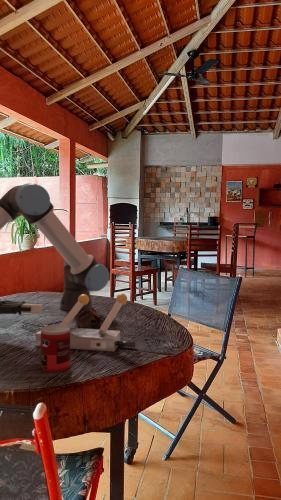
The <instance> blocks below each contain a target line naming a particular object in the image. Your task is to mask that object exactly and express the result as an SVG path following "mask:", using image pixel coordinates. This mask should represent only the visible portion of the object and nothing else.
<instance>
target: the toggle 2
mask: <svg viewBox="0 0 281 500" xmlns="http://www.w3.org/2000/svg"><path fill="white" fill-rule="evenodd" d="M115 300H116V301H115V303H114V304H113V306H112V307H111V309H110V311H109V313H108V314H107V317H106V318H105V319H104V321H103V322H102V326H100V327H101V328H99V329H98V330H99V335H102V334H104V333H105V332H106V331H107V330H109V328H110V326H111V324H112V322H113V320H114V319H115V317H116V316H117V314H118V312H119V311H120V309H121V308H122V306H123V305H125V304H126V303H127V302H128V297H127V295H126V294H125V293H119V294H117V295H116V297H115Z"/></svg>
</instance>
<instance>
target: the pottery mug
mask: <svg viewBox="0 0 281 500" xmlns="http://www.w3.org/2000/svg"><path fill="white" fill-rule="evenodd" d="M85 315H86V316H85ZM89 320H90V323H91V324H95V323H97V326H98V327H99V326H100V328H101V326H102V324H103V320H102V318H101V316H100V314H99V313H98V312H97V310H96V309H94V308H91V309H86V310H83V311H80V313H78V314H77V315H76V317H75V321H76V328H80V327H81V326H84V325H87V326H89ZM100 328H99V329H100Z"/></svg>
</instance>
